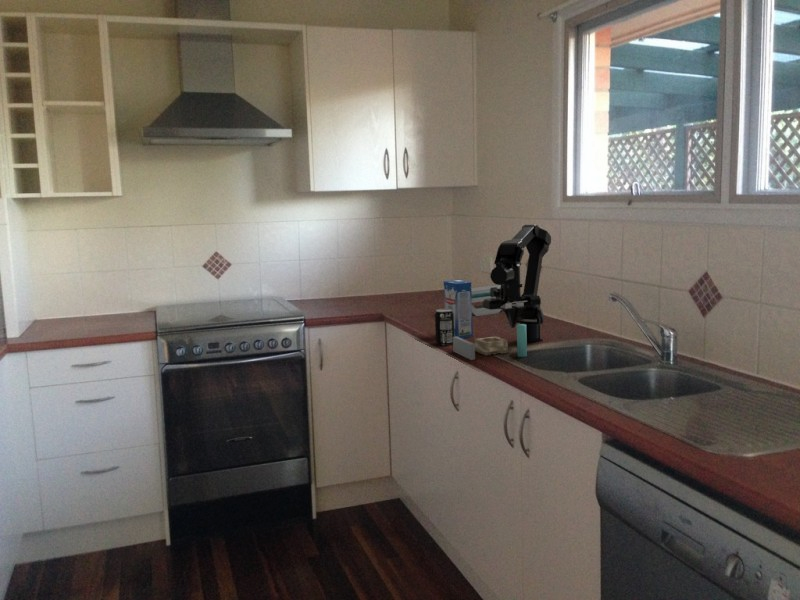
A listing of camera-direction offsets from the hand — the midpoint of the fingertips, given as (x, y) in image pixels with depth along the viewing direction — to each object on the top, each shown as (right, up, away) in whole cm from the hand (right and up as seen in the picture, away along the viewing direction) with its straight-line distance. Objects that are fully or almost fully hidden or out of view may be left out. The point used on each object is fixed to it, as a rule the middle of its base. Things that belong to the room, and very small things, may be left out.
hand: (512, 327), depth 239 cm
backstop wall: (-16, -9, -5) cm, 19 cm away
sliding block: (-7, -8, -2) cm, 11 cm away
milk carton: (-15, -4, +28) cm, 32 cm away
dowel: (+2, -9, -9) cm, 13 cm away
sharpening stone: (-1, +3, +74) cm, 74 cm away
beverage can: (-21, -6, +15) cm, 27 cm away
